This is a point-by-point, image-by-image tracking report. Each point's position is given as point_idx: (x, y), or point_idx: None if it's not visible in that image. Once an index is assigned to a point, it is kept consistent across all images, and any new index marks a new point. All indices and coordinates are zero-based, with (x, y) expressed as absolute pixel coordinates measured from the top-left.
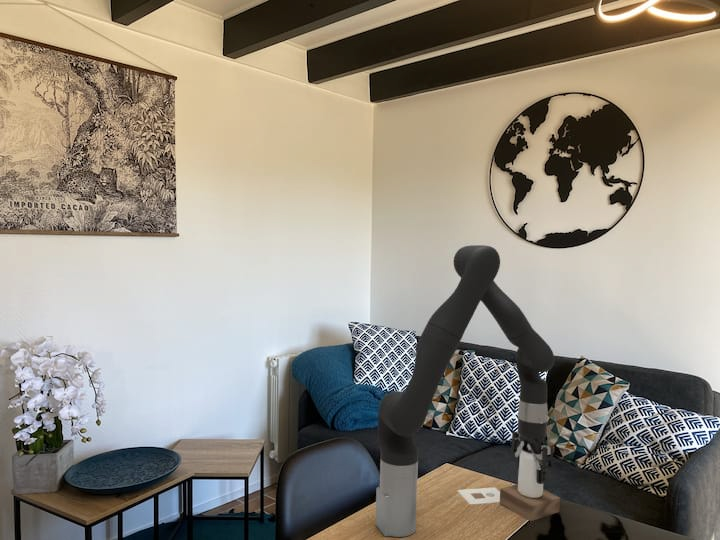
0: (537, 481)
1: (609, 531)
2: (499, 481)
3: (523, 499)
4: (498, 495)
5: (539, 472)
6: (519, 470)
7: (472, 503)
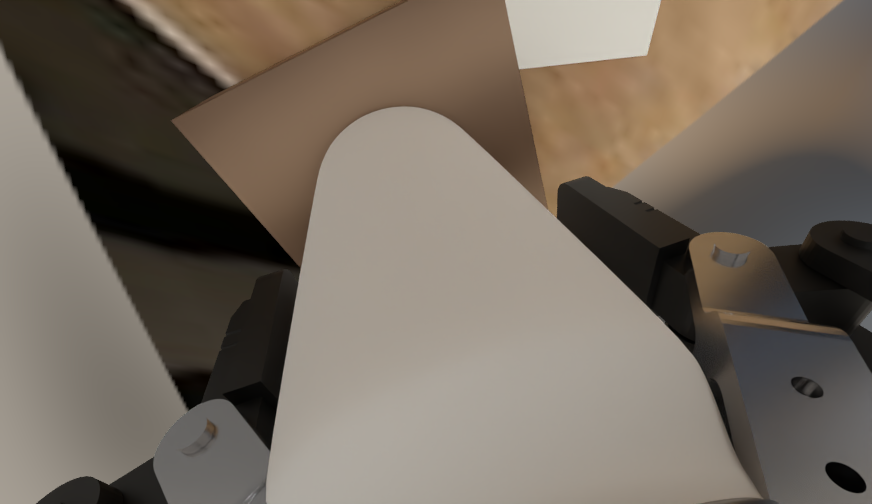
0: (270, 279)
1: (195, 390)
2: (687, 119)
3: (296, 99)
4: (556, 25)
5: (239, 372)
6: (460, 167)
7: None
